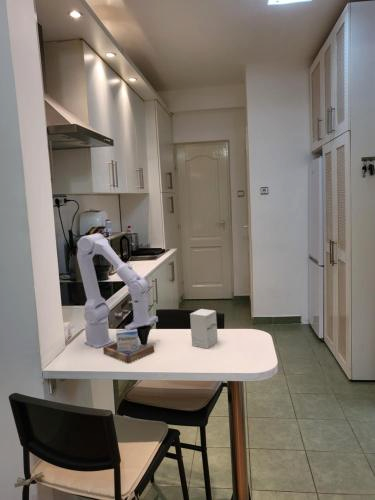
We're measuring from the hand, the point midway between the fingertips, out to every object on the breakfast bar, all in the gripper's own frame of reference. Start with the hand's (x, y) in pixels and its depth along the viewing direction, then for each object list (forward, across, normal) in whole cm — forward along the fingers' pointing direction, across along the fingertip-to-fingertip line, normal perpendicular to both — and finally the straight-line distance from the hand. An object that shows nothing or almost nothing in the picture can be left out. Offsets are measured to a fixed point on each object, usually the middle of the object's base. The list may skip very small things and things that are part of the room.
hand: (143, 344), depth 158 cm
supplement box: (+1, +15, -18) cm, 24 cm away
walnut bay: (+1, -8, 0) cm, 8 cm away
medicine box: (+1, -7, 0) cm, 7 cm away
